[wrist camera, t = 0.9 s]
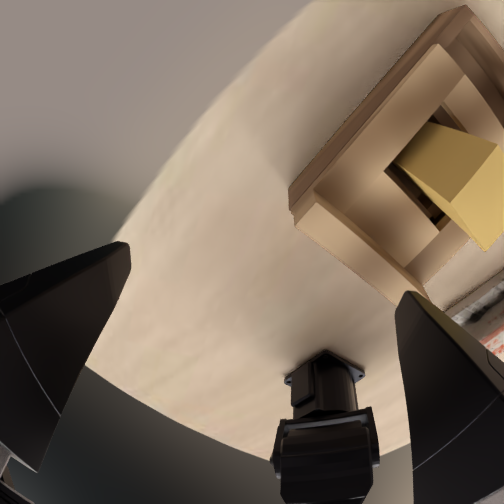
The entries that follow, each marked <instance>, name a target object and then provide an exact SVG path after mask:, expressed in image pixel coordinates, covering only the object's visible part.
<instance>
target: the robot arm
mask: <svg viewBox="0 0 504 504" xmlns="http://www.w3.org/2000/svg"><path fill="white" fill-rule="evenodd" d="M130 271H131V256H130V246H129V244H128V243H125V242H120V241H116V242H113V243H110V244H107V245H105V246H102V247H99V248H96V249H93V250H91V251H88V252H85V253H82V254H80V255H77V256H74V257H72V258H69V259H66V260H64V261H61V262H58V263H56V264H53V265H51V266H48V267H46V268H43V269H40V270H38V271H35V272H33V273H32V274H28V275H25V276H23V277H20V278H18V279H15V280H12V281H10V282H7V283H4V284H2V285H0V504H35V503H33V502H32V501H30V500H29V499H27V498H25V497H24V496H22V495H21V494H19V493H18V492H17V491H15V488H14V485H13V482H12V479H11V476H10V472H9V469H8V467H7V466H6V465H7V463H8V460H9V458H10V456H12V457H13V458H15V459H16V460H18V461H19V462H21V463H22V464H24V465H25V466H27V467H28V468H30V469H32V470H33V471H35V472H37V473H38V471H39V469H40V467H41V464H42V461H43V459H44V456H45V453H46V451H47V448H48V446H49V443H50V441H51V438H52V436H53V433H54V431H55V428H56V426H57V424H58V421H59V419H60V416H61V414H62V412H63V409H64V407H65V405H66V403H67V401H68V398H69V396H70V394H71V392H72V390H73V388H74V385H75V383H76V381H77V379H78V377H79V375H80V373H81V371H82V369H83V367H84V365H85V363H86V361H87V359H88V357H89V355H90V353H91V351H92V349H93V347H94V345H95V343H96V341H97V339H98V338H99V336H100V334H101V332H102V330H103V328H104V326H105V325H106V323H107V321H108V319H109V317H110V315H111V314H112V312H113V310H114V308H115V306H116V304H117V301H118V299H119V297H120V294H121V292H122V290H123V287H124V285H125V283H126V280H127V278H128V276H129V274H130ZM395 324H396V334H397V345H398V354H399V361H400V366H401V372H402V378H403V384H404V391H405V397H406V404H407V412H408V420H409V429H410V439H411V450H412V465H413V492H414V504H504V362H502V361H501V360H500V359H499V358H498V357H497V356H495V355H494V354H493V353H492V352H491V351H490V350H488V349H486V347H485V346H484V345H483V344H481V343H480V342H479V341H478V340H477V339H476V338H474V337H473V336H472V335H471V334H470V333H468V332H467V331H466V330H465V329H464V328H462V327H461V326H460V325H459V324H457V323H456V322H455V321H454V320H453V319H451V318H450V317H449V316H448V315H446V314H445V313H444V312H443V311H441V310H440V309H439V308H438V307H436V306H435V305H434V304H432V303H431V302H430V301H429V300H427V299H426V298H425V297H423V296H422V295H421V294H420V293H418V292H416V291H410V290H407V291H405V292H404V294H403V296H402V298H401V300H400V302H399V304H398V306H397V308H396V311H395ZM364 377H365V372H364V371H363V370H361V369H360V368H358V367H356V366H354V365H352V364H351V363H349V362H347V361H345V360H344V359H342V358H340V357H338V356H337V355H335V354H333V353H331V352H330V351H326V350H325V351H322V352H321V353H319V354H318V355H317V356H315V357H314V358H313V359H311V360H310V361H308V362H307V363H306V364H304V365H303V366H301V367H300V368H299V369H297V370H296V371H294V372H293V373H291V374H290V375H289V376H287V377H286V378H285V379H284V383H285V384H286V385H288V386H291V406H292V407H293V419H288V420H287V419H280V424H279V426H278V429H277V434H276V439H275V444H274V449H273V452H272V455H271V457H270V464H271V465H272V466H274V469H275V473H276V476H277V478H278V479H281V492H280V494H281V496H282V498H283V500H284V502H285V503H286V504H362V503H363V501H364V499H365V498H366V496H367V494H368V492H369V490H370V488H371V487H372V485H373V470H372V468H376V467H379V462H380V459H379V458H380V455H379V443H378V436H377V431H376V426H375V421H374V417H373V412H372V407H366V408H365V409H360V410H358V402H357V395H356V388H355V383H356V382H358V381H359V380H361V379H362V378H364Z"/></svg>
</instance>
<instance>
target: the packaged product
mask: <svg viewBox="0 0 504 504" xmlns="http://www.w3.org/2000/svg"><path fill="white" fill-rule="evenodd" d="M444 313H445V314H446V315H448V316H449V317H450V318H451V319H453V320H454V321H455V322H456V323H457V324H459V325H460V326H461V327H462V328H464V329H465V330H466V331H467V332H468V333H470V334H471V335H472V336H473V337H474V338H476V339H477V340H478V341H479V342H480V343H481V344H483V345H484V346H485V347H486V349H488V350H490V351H491V352H492V353H493V354H494V355H495V356H498V355H500V354H501V353H502V352H504V269H503V270H502V271H501V272H499V273H498V274H497V275H496V276H494V277H493V278H492V279H490V280H489V281H488V282H486V283H485V284H483V285H482V286H481V287H479V288H478V289H477V290H475V291H474V292H473V293H471V294H470V295H469V296H467V297H466V298H464V299H463V300H462V301H460V302H459V303H457V304H456V305H454V306H453V307H451V308H450V309H448V310H447V311H446V312H444Z"/></svg>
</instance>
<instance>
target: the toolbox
mask: <svg viewBox="0 0 504 504" xmlns="http://www.w3.org/2000/svg"><path fill="white" fill-rule="evenodd" d="M434 44H439V45H440V46H441V47H442V48H443V49H444V50H445V51H446V52H447V53H448V54H449V56H450V57H451V58H452V59H453V60H454V61H455V62H456V64H457V65H458V66H459V67H460V68H461V70H462V71H463V72H464V73H465V74H466V76H467V77H468V78H469V80H470V81H471V82H472V83H473V85H474V86H475V87H476V89H477V90H478V91H479V93H480V94H481V95H482V97H483V98H484V100H485V101H486V102H487V104H488V105H489V107H490V108H491V110H492V111H493V113H494V114H495V116H496V117H497V119H498V120H499V122H500V124H501V125H502V127H503V128H504V50H503V49H502V48H501V46H500V45H499V44H498V42H497V41H496V40H495V38H494V37H493V36H492V34H491V33H490V32H489V31H488V29H487V28H486V27H485V26H484V25H483V23H482V22H481V21H480V20H479V19H478V17H477V16H476V15H475V14H474V13H473V12H472V11H471V10H470V8H469V7H468V6H467V5H463V6H460V7H458V8H455V9H452V10H450V11H447V12H445V13H442V14H440V15H438V16H437V17H436V18H435V19H434V21H433V22H432V23H431V24H430V25H429V26H428V27H427V28H426V30H425V31H424V32H423V33H422V34H421V35H420V36H419V37H418V39H417V40H416V41H415V42H414V43H413V44H412V45H411V46H410V48H409V49H408V50H407V51H406V52H405V53H404V54H403V56H402V57H401V58H400V59H399V60H398V61H397V62H396V64H395V65H394V66H393V67H392V68H391V69H390V70H389V72H388V73H387V74H386V75H385V76H384V77H383V78H382V80H381V81H380V82H379V83H378V84H377V85H376V86H375V88H374V89H373V90H372V91H371V92H370V93H369V95H368V96H367V97H366V98H365V99H364V100H363V102H362V103H361V104H360V105H359V106H358V107H357V108H356V110H355V111H354V112H353V113H352V114H351V115H350V117H349V118H348V119H347V120H346V121H345V122H344V124H343V125H342V126H341V127H340V128H339V129H338V131H337V132H336V133H335V134H334V135H333V136H332V138H331V139H330V140H329V141H328V142H327V144H326V145H325V146H324V147H323V148H322V149H321V151H320V152H319V153H318V154H317V155H316V156H315V158H314V159H313V160H312V161H311V162H310V164H309V165H308V166H307V167H306V168H305V169H304V171H303V172H302V173H301V174H300V175H299V177H298V178H297V179H296V180H295V181H294V183H293V184H292V185H291V186H290V187H289V188H288V197H289V210H290V211H291V208H292V207H293V206H294V204H295V203H296V202H297V201H298V200H299V199H300V197H301V196H302V195H303V194H304V193H305V192H306V191H307V189H308V188H309V187H310V186H311V185H312V184H313V182H314V181H315V180H316V179H317V178H318V177H319V175H320V174H321V173H322V172H323V171H324V170H325V169H326V167H327V166H328V165H329V164H330V163H331V162H332V160H333V159H334V158H335V157H336V156H337V155H338V154H339V152H340V151H341V150H342V149H343V148H344V147H345V145H346V144H347V143H348V142H349V141H350V140H351V138H352V137H353V136H354V135H355V134H356V133H357V132H358V130H359V129H360V128H361V127H362V126H363V125H364V123H365V122H366V121H367V120H368V119H369V118H370V116H371V115H372V114H373V113H374V112H375V111H376V110H377V108H378V107H379V106H380V105H381V104H382V103H383V101H384V100H385V99H386V98H387V97H388V96H389V94H390V93H391V92H392V91H393V90H394V89H395V88H396V86H397V85H398V84H399V83H400V82H401V81H402V79H403V78H404V77H405V76H406V75H407V74H408V72H409V71H410V70H411V69H412V68H413V67H414V66H415V64H416V63H417V62H418V61H419V60H420V59H421V57H422V56H423V55H424V54H425V53H426V52H427V50H428V49H429V48H430V47H431V46H432V45H434ZM427 121H428V122H431V123H435V124H438V125H442V126H445V127H449V128H452V129H455V130H458V131H461V129H460V128H459V127H458V125H457V124H456V123H455V122H454V120H453V119H452V118H451V117H450V115H449V114H448V113H447V112H446V111H445V109H444V108H443V107H442V106H441V105H440V106H439V107H438V108H437V109H436V111H435V112H434V113H433V114H432V115H431V117H430V118H429V119H428V120H427ZM383 172H384V173H385V174H386V175H387V176H389V177H390V178H391V179H392V180H393V181H394V182H395V183H396V185H397V186H398V187H399V188H400V189H401V190H402V191H403V192H404V193H405V194H406V195H407V196H408V197H409V198H410V199H411V200H412V201H413V202H414V203H415V204H416V206H417V207H418V208H419V209H420V210H421V211H422V212H423V213H424V214H425V215H426V217H427V218H428V219H429V220H430V221H431V222H432V223H433V225H434V226H436V224H437V223H438V222H439V221H440V220H441V219H442V218H443V217H444V216H445V215H446V213H445V212H443V211H442V210H441V209H440V208H439V207H438V206H437V205H436V204H435V203H433V202H432V201H431V200H430V199H429V198H428V197H426V196H425V195H424V194H423V193H422V192H421V191H419V190H418V189H417V188H416V187H415V186H414V185H413V184H412V183H411V182H410V180H409V179H408V178H407V177H406V176H405V175H404V174H403V173H402V172H401V171H400V170H399V169H398V168H397V167H396V166H395V165H394V164H393V163H392V162H391V163H390V164H389V165H388V166H387V167H386V169H385V170H384V171H383Z"/></svg>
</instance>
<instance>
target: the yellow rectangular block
mask: <svg viewBox="0 0 504 504" xmlns="http://www.w3.org/2000/svg"><path fill="white" fill-rule="evenodd" d="M392 163H393V164H394V165H395V166H396V167H397V168H398V169H399V170H400V171H401V172H402V173H403V174H404V175H405V176H406V177H407V178H408V179H409V180H410V182H411V183H412V184H413V185H414V186H415V187H416V188H417V189H418V190H419V191H421V192H422V193H423V194H424V195H425V196H426V197H428V198H429V199H430V200H431V201H432V202H433V203H435V204H436V205H437V206H438V207H439V208H440V209H441V210H442V211H443V212H445V213H446V214H447V215H448V216H449V217H450V218H451V219H452V220H453V221H454V222H455V223H456V224H457V225H458V226H459V227H460V228H462V229H463V230H464V231H465V232H466V233H467V234H468V235H469V236H470V237H471V238H472V239H473V240H474V241H475V242H476V243H477V245H478V246H479V247H480V248H481V249H482V250H483V251H484V252H486V251H487V250H488V248H489V247H490V246H491V245H492V244H493V243H494V242H495V241H496V239H497V238H498V237H499V236H500V235H501V234H502V233H503V231H504V153H503V152H502V150H501V148H500V147H499V145H498V144H496V143H493V142H490V141H488V140H485V139H482V138H479V137H476V136H474V135H471V134H468V133H465V132H462V131H458V130H455V129H452V128H449V127H445V126H442V125H438V124H435V123H431V122H428V121H426V122H425V124H424V125H423V126H422V127H421V128H420V130H419V131H418V132H417V133H416V134H415V135H414V137H413V138H412V139H411V140H410V141H409V142H408V143H407V145H406V146H405V147H404V148H403V149H402V150H401V152H400V153H399V154H398V155H397V156H396V157H395V158H394V160H393V161H392Z"/></svg>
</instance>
